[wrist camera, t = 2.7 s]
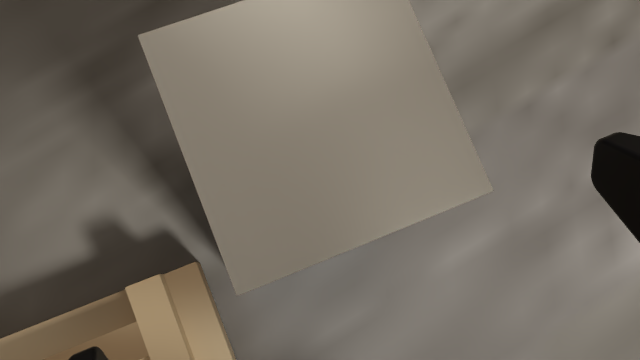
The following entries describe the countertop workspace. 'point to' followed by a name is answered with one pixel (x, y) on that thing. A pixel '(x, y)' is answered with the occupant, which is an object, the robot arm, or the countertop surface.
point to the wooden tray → (134, 324)
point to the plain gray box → (311, 128)
